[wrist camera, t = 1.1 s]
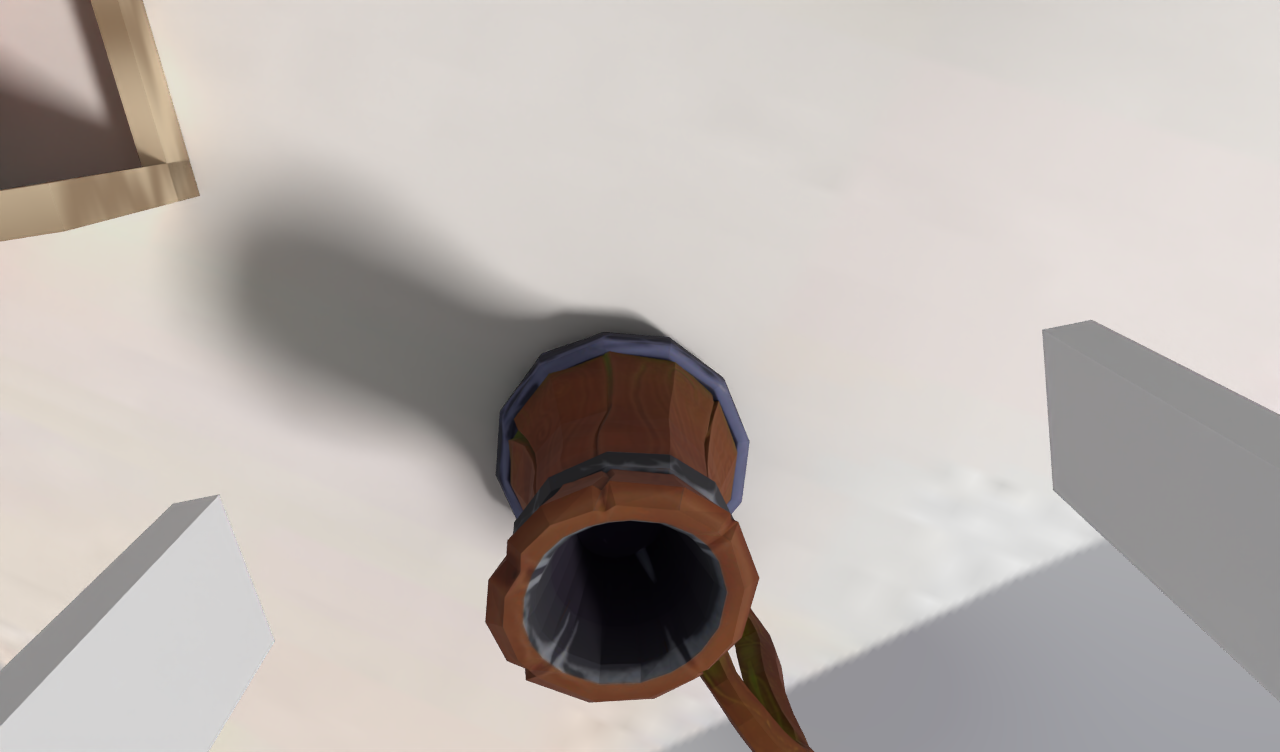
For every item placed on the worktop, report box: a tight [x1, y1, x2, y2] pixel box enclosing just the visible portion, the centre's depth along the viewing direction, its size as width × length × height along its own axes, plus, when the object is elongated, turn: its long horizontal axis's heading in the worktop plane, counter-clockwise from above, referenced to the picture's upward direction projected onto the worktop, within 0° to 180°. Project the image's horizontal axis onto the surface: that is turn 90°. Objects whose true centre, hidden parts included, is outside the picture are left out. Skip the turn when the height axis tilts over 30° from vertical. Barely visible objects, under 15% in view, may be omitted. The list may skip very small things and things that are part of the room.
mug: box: [485, 332, 814, 752], centre depth 36 cm, size 18×12×15 cm, turn 38°
